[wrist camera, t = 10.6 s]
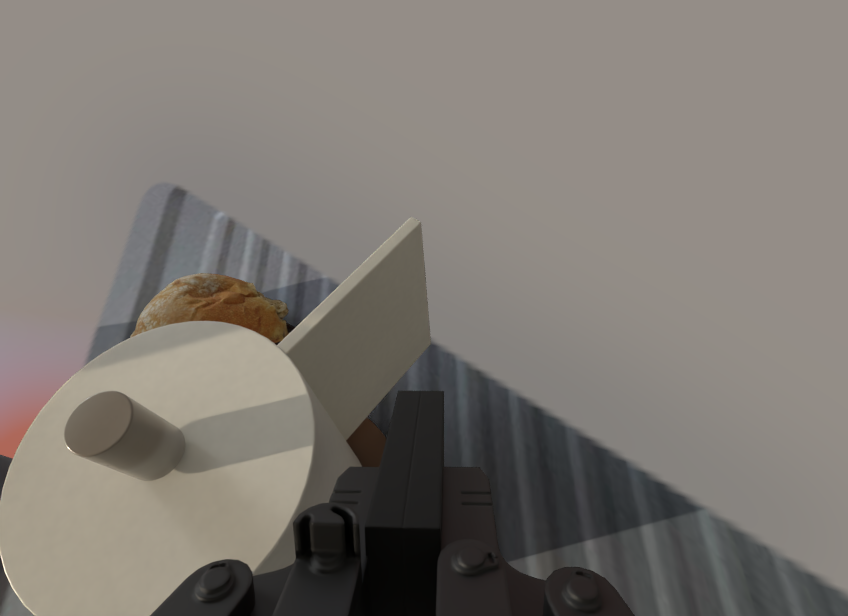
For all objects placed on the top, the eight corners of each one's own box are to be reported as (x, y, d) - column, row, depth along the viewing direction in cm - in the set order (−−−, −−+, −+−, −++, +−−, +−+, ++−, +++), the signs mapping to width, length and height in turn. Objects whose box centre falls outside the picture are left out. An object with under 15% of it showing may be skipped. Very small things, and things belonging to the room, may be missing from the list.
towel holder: (114, 608, 26) (-355, 619, 11) (244, 377, 32) (67, 187, 17) (353, 718, 23) (166, 944, 8) (441, 440, 30) (430, 276, 15)
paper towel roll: (229, 672, 23) (29, 737, 12) (162, 489, 27) (-25, 417, 16) (516, 456, 27) (559, 363, 16) (418, 330, 32) (401, 193, 21)
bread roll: (214, 323, 39) (120, 274, 33) (314, 285, 35) (228, 222, 29) (188, 444, 34) (71, 413, 28) (302, 416, 30) (195, 372, 24)
